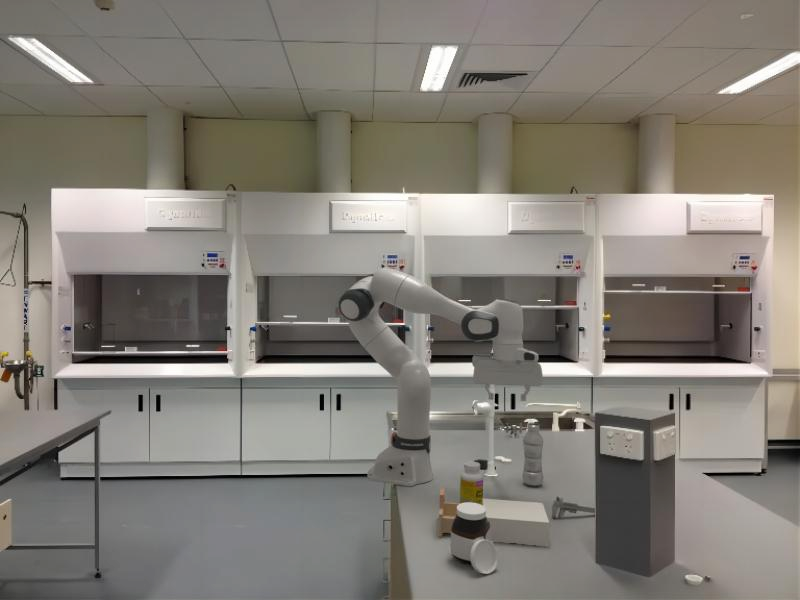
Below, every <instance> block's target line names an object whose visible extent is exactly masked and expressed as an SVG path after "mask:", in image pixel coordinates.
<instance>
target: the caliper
mask: <svg viewBox="0 0 800 600" xmlns="http://www.w3.org/2000/svg"><path fill="white" fill-rule="evenodd" d="M563 499H564V498H563V497H562V496H560V497H559V496H557V495H556V498H555V499H554V500H553V503H552V505H551V507H552V508H551V509H552V510H551V511H552V512H551V517H552V518H553V520H556V518H557V519H559V520H562V518H563V517H564V514H565V513H566V511H567V512H568V513H573V514H577V511H578V512H584V513H592V514H596V513H595V507H596V506H591V505H585V504H584V505H583V504H578V503H577V502H573V501H566V500H563ZM558 510H559V511H558ZM557 514H558V516H557Z"/></svg>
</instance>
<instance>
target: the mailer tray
mask: <svg viewBox="0 0 800 600" xmlns="http://www.w3.org/2000/svg"><path fill="white" fill-rule="evenodd" d="M445 493H446V489H445V487H440V493H439V512H438V537H439V538H442V537H443V533H444V534H446V533H448V534H451V527H452V523H453V521H454V519H455V517H456V515H457V506H458V505H459V504H461V503H460V502H459V503H458V502H446V496H445ZM482 506H483V505H482Z"/></svg>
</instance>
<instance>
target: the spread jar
mask: <svg viewBox="0 0 800 600" xmlns="http://www.w3.org/2000/svg"><path fill="white" fill-rule="evenodd" d="M450 553H451V556H452V557H453V558H454V559H455V560H457V561H458V562H459V561H460V562H459V563H461V564H463V563H464V565H466V564H468V566H472V567H473V569H474V570H475V571H476V572H478V573H480V574H484V575H489V574H491V573H492V572H494V571H495V570H496V568H497V566H498V562H499V551H498V549H497V547H496V545H495V544H494V542H491V541H490V522H489V519H488V518H487V517H486V508H485V507H484V506H482V505H480V504H478V503H472V502H466V503H461V504H459V505H458V506H457V515H456V517H455V519H454V521H453V523H452V527H451V533H450ZM487 570H488V571H487Z"/></svg>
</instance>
